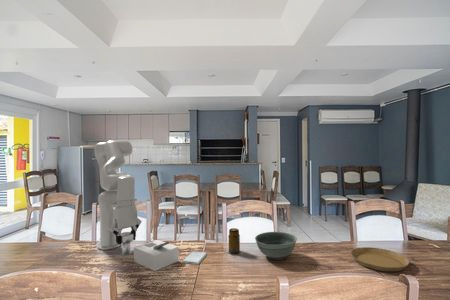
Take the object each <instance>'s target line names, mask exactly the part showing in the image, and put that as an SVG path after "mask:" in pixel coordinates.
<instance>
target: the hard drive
mask: <svg viewBox="0 0 450 300" xmlns="http://www.w3.org/2000/svg"><path fill="white" fill-rule="evenodd" d="M207 255H208V254H207V252H203V251H191V252H190V253H189V254H188V255H187V256H186V257H185V258H184V259H182V264H189V265H199V264H200V263H201V262H202V261H203V259H205V258H206V257H207Z"/></svg>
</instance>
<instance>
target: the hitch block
mask: <svg viewBox="0 0 450 300" xmlns="http://www.w3.org/2000/svg"><path fill="white" fill-rule="evenodd" d="M166 242H167V241H166ZM166 242H165V241H162V240H160V239H155V240H153V241H150V242H145V243H143V244H140V245H137V246H134V247H133V262H134V263H136V264H138V265H141V266H142V267H145V268H147V269H149V270H151V271H154V272H156V271H158V270H161V269H163V268H166V267H167V266H169V265H173V264H175V263H177V262H179V246H177V245H174V244H173V243H172V244H171V243H169V244H167V245H165V246H162V247H159V248H156V249H153V247H154V246H157V245H160V244H163V243H166Z"/></svg>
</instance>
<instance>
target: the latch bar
mask: <svg viewBox="0 0 450 300" xmlns="http://www.w3.org/2000/svg"><path fill="white" fill-rule="evenodd" d="M167 244H170V242H169V241H166V243H163V244H160V245H157V246H154V247H153V249H156V248H159V247H162V246H165V245H167Z"/></svg>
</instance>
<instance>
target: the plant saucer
mask: <svg viewBox="0 0 450 300" xmlns="http://www.w3.org/2000/svg"><path fill="white" fill-rule="evenodd" d="M350 255H351V257H352V258H353V260H354V261H355V262H356V263H358V264H360V265H361V266H363V267H365V268H368V269H371V270H375V271H379V272H380V271H381V272H389V273H390V272H392V273H393V272H399V271H403V270H404V269H406V268H407V267H408V266H409V265H410V260H409V259H408V257H406V256H404V255H403V254H400V253H398V252H395V251H392V250H390V249H389V250H388V249H384V248H379V247H370V246H368V247H367V246H366V247H363V246H362V247H356V248H353V249H352V250H351V251H350Z"/></svg>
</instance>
